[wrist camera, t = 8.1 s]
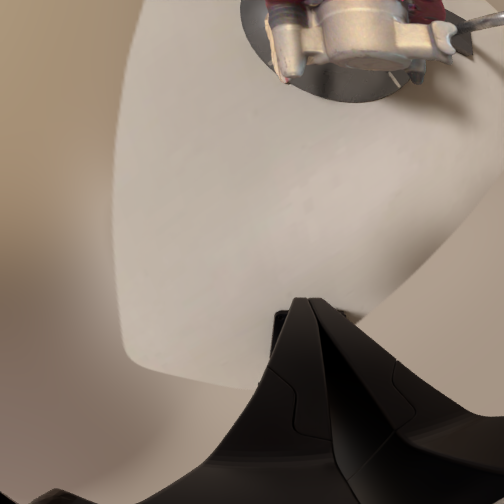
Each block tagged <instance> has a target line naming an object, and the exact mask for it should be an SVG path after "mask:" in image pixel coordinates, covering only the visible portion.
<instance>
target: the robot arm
mask: <svg viewBox="0 0 504 504" xmlns="http://www.w3.org/2000/svg"><path fill="white" fill-rule="evenodd" d="M279 316H282V318H278V317H279ZM0 504H18V503H17V502H15V501H14V500H12V499H11V498H10V497H8V496H7V495H5V494H4V493H2V492H1V491H0ZM29 504H97V503H94V502H92V501H89V500H86V499H84V498H82V497H79V496H77V495H74V494H72V493H70V492H67V491H64V490H61V489H57V488H54V489H52V490H50V491H48V492H47V493H45V494H43V495H41V496H39V497H38V498H36V499H34V500H33V501H32V502H31V503H29ZM136 504H504V416H499V417H486V416H480V415H476V414H474V413H472V412H470V411H468V410H466V409H464V408H463V407H461V406H460V405H459V404H457V403H456V402H454V401H453V400H451V399H449V398H448V397H447V396H445V395H444V394H442V393H441V392H439V391H438V390H436V389H435V388H433V387H432V386H430V385H429V384H428V383H426V382H425V381H423V380H422V379H421V378H419V377H418V376H417V375H415V374H414V373H413V372H411V371H410V370H409V369H408V368H407V367H405V366H404V365H403V364H401V362H399V361H396V358H394V357H393V356H392V355H391V354H389V353H388V352H387V351H386V350H385V349H383V348H382V347H381V346H380V345H379V344H377V343H376V342H375V341H374V340H372V339H371V338H370V337H369V336H367V335H366V334H365V333H364V332H363V331H362V330H360V329H359V328H358V327H357V326H355V325H354V324H353V323H352V322H351V321H349V320H348V319H347V318H346V315H345V313H344V312H343V311H337V310H336V309H335V308H333V307H332V306H331V305H330V304H328V303H327V302H326V301H325V300H324V299H322V298H308V299H307V298H297V297H296V298H294V299H293V301H292V304H291V306H290V309H289V311H278V312H276V313H275V315H274V324H273V333H272V342H271V350H270V360H269V362H268V365H267V367H266V369H265V371H264V374H263V376H262V379H261V381H260V382H259V383H258V387H257V389H256V391H255V393H254V395H253V396H252V398H251V400H250V401H249V403H248V404H247V406H246V408H245V409H244V411H243V412H242V414H241V415H240V416H239V418H238V419H237V421H236V422H235V423H234V425H233V426H232V428H231V429H230V430H229V432H228V433H227V435H226V436H225V437H224V439H223V440H222V441H221V443H220V444H219V445H218V447H217V448H216V449H215V450H214V451H213V453H212V454H211V455H210V456H209V457H208V458H207V459H206V460H205V461H204V462H203V463H202V464H201V465H199V466H198V467H196V468H195V469H193V470H192V471H191V472H189V473H188V474H186V475H185V476H183V477H181V478H180V479H178V480H177V481H175V482H174V483H172V484H171V485H169V486H167V487H166V488H164V489H162V490H161V491H159V492H158V493H156V494H154V495H152V496H150V497H149V498H147V499H145V500H143V501H141V502H139V503H136Z"/></svg>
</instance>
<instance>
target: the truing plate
mask: <svg viewBox="0 0 504 504" xmlns="http://www.w3.org/2000/svg"><path fill="white" fill-rule="evenodd" d="M265 3H266V1H265V0H241V5H240V13H241V21H242V26H243V29H244V32H245V34H246V37H247V39H248V41H249V43H250V44H251V46H252V48H253V49H254V51H255V52H256V53H257V55H258V56H259V57H260V58H261V59H262V61H263V62H264V63H265V64H266V65H267V66H268V67H269V68H270V69H272V70H273V71H274V72H275V70H274V65H273V62H272V57H271V47H270V40H269V39H268V36H267V32H266V29H265V17H266V15H267V13H268V10H267V8H266V5H265ZM275 73H276V72H275ZM276 74H277V73H276ZM409 79H410V77H409V76H408V74H407V73H406V72H405V71H403V70H401V69H399V70H396V71H373V70H362V69H351V68H344V67H340V66H338V65H336V64H334V63H326V64H323V65H306V67H305V70H304V73H303V75H302V76H301V77H298V78H295V79H291V81H289V83H291V84H292V85H294V86H296V87H298V88H300V89H302V90H304V91H306V92H309V93H311V94H313V95H317V96H320V97H323V98H326V99H331V100H336V101H343V102H365V101H372V100H376V99H380V98H383V97H386V96H388V95H390V94H392V93H394V92H395V91H397V90H399V89H400V88H401V87H402V86H403V85H405V84H406V83H407V82H408V80H409Z"/></svg>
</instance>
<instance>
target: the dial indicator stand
mask: <svg viewBox="0 0 504 504" xmlns="http://www.w3.org/2000/svg"><path fill="white" fill-rule="evenodd" d="M445 11H446V18H445V21H444V22H449V23H452V24H454V25H455V26H456V28H457V33H456V34H455V35H453V36H452V37H451V45H452V47H453V48H454V49H455V50H456V51H458V52H460V53H461V54H463V55H465V56H469V55H473V51H472V41H471V33H470V32H473V31H478V30H482V29H486V28H491V27H496V26H502V25H504V11H502V12H498V13H493V14H489V15H485V16H482V17H478V18H474V19H471V20H468V21H466V20H464V19H463V18H461V17H459V16H457V15H456V14H454V13H452V12H450V11H448V10H446V9H445Z"/></svg>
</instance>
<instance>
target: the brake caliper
mask: <svg viewBox="0 0 504 504" xmlns="http://www.w3.org/2000/svg"><path fill="white" fill-rule="evenodd" d="M265 1H266V3H265V5H266V8H267V10H268V13H267V15H266V17H265V29H266V32H267V36H268V39H269V40H270V47H271V57H272V62H273V65H274V70H275V72H276V73H277V75H278V76H279V78H280V81H281V82H283V83H287V82H289V81H291V79H295V78H298V77H301V76H302V75H303V73H304V70H305V67H306V65H323V64H326V63H334V64H336V65H338V66H340V67H344V68H351V69H362V70H373V71H396V70H399V69H401V70H403V71H405V72H406V73H407V74H408V76H409V77H410V79H411V81H412V82H413V83H414V84H417V85H419V84H422V83H423V79H424V75H425V72H426V62H425V60H436V61H440V62H443V63H445V64H448V65H451V64H452V63H453V60H452V55H453V54H455V53H456V50H455V49H454V48H453V47H452V45H451V37H452V36H453V35H455V34H456V33H457V28H456V26H455V25H454V24H452V23H449V22H444V21H445V18H446V11H445V9H444V5H443V3H442V0H265Z"/></svg>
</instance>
